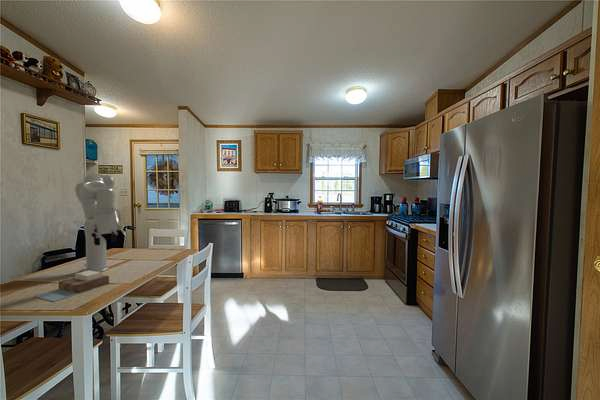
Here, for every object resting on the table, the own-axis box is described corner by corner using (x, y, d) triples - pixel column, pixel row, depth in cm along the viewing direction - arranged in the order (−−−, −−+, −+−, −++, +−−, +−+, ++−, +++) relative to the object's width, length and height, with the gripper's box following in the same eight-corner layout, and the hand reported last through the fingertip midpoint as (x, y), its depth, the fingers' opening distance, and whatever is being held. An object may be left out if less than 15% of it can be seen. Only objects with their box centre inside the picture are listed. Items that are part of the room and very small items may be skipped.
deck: (58, 289, 120) (58, 281, 120) (91, 280, 134) (90, 272, 134) (77, 293, 116) (77, 285, 116) (109, 283, 129) (108, 276, 129)
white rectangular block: (75, 278, 125) (75, 273, 125) (88, 274, 130) (88, 270, 130) (87, 280, 122) (87, 276, 122) (100, 277, 127) (100, 272, 127)
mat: (33, 296, 112) (33, 296, 112) (58, 289, 121) (58, 288, 121) (53, 301, 107) (53, 301, 107) (78, 294, 116) (78, 293, 116)
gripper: (117, 210, 143) (117, 240, 143) (82, 212, 126) (82, 246, 127) (126, 210, 140) (126, 241, 141) (92, 212, 124) (92, 247, 124)
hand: (105, 243), depth 134 cm, fingers open, 7 cm apart
